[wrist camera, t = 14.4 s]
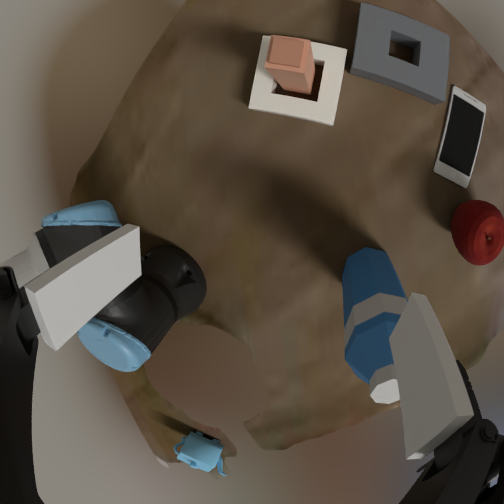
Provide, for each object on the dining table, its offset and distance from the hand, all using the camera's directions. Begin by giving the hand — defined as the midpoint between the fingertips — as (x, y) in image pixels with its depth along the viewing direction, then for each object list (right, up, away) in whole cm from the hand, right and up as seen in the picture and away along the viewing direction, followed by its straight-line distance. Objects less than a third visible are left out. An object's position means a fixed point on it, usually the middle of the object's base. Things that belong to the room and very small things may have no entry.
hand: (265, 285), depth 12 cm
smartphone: (+32, +20, +18) cm, 42 cm away
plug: (+6, +27, +22) cm, 35 cm away
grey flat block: (+21, +31, +15) cm, 41 cm away
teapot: (-17, -70, +71) cm, 101 cm away
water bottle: (+19, -2, +31) cm, 36 cm away
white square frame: (+6, +27, +22) cm, 35 cm away
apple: (+35, +7, +23) cm, 42 cm away
